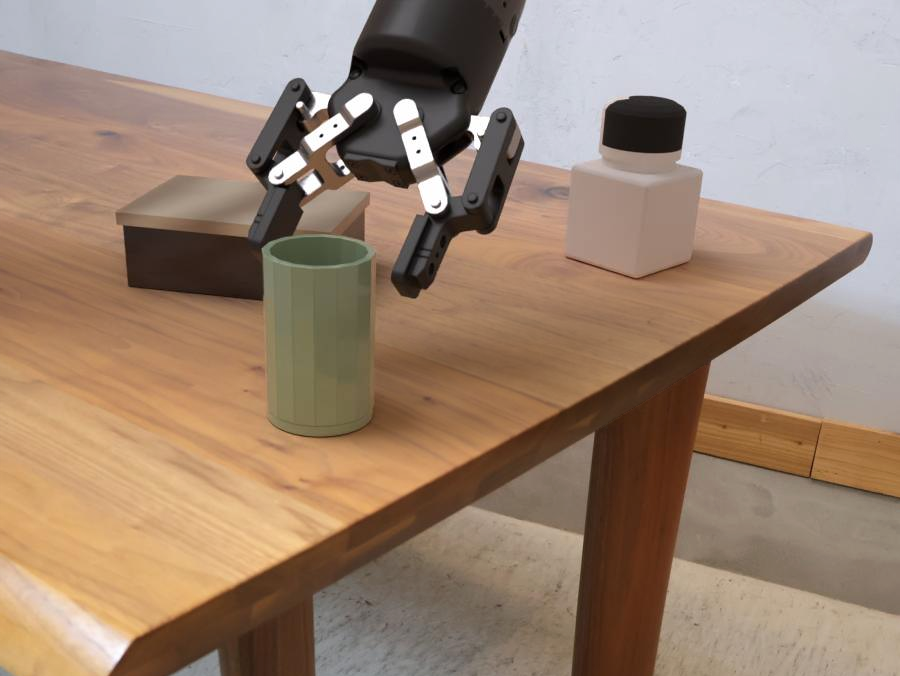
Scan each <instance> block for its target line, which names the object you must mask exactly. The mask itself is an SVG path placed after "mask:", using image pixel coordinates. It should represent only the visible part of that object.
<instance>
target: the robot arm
mask: <svg viewBox="0 0 900 676" xmlns="http://www.w3.org/2000/svg"><path fill="white" fill-rule="evenodd" d="M526 3H527V0H375V2H374V4H373V7H372V9H371V10H370V13H369V15H368V17H367V19H366V21H365V24H364V25H363V28H362V29H361V32H360V34H359V35H358V38H357V41H356V42H355V45H354V47H353V50H352V54H351V59H350V67H349V71H348V75H347V78H346V79H345V81H344V82H343V83H342V84H341V85H340V86H339V87H338V88H337V89H336V90H334V91H333V93H332V94H330V93H325V92H321V91H317V90H312V89H311V88H310V86H309V85H308V84H307V81H306V80H305V79H303V78H302V77H295V78H292V79H291V80H290V81H288V83H286V86H285V87H284V89H283V91H282V93H281V94H280V97H279V99H278V100H277V102H276V104H275V106H274V108H273V109H272V111H271V113H270V115H269V117H268V118H267V121H266V122H265V124H264V125H263V127H262V129H261V131H260V133H259V135H258V136H257V139H256V140H255V142H254V144H253V146H252V148H251V149H250V151H249V153H248V155H247V157H246V159H245V164H246V166H247V168H248V169H249V170H250V171H251V173H252V174H253V175H254V177H255V178H256V179H257V180H258V182H260V183H261V184H262V185H263V187H264V188H265V189H266V190H267V193H266V195H265V197H264V199H263V202H262V204H261V206H260V208H259V210H258V212H257V216H255V218H254V222H253V223H252V225H251V227H250V229H249V232H248V240H249V241H250V250H251V252H252V253H253V254H254V255H255V256H256V257H257V258H258V260H259V261H260V262H261V263H262V248H263V247H264V246H265V245H266V244H267V243H268V242H271V241H274V240H277V239H280V238H283V237H289V236H293V234H294V232H295V230H296V228H297V226H298V223H299V221H300V219H301V217H302V215H303V213H304V211H303V210H302V209H301V207H303V206H304V205H305V204H307V203H308V202H310V201H311V200H312V199H314V198H315V197H317V196H318V195H320V194H321V193H322V192H324V191H325V190H328V189H330V190H337V189H341V188H342V187H343V186H345V185H346V184H347V183H349V182H350V181H351V180H353V179H356V180H357V181H360V182H366V183H379V182H384V183H387V184H388V185H389V186H392V187H394V188H399V189H404V190H409V187H410V185H415V184H417V187H418V191H419V193H420V197H421V200H422V203H423V206H424V210H425V212H424V214H418V213H416V214H415V217H414V219H413V221H412V224H411V226H410V228H409V231H408V233H407V235H406V237H405V239H404V242H403V245H402V247H401V248H400V252H399V254H398V256H397V258H396V261H395V262H394V265H393V267H392V270H391V273H390V282H391V284H392V285H393V287H394V288H395V289H396V291H397V292H398V294H399V295H400V296H401V297H404V298H407V299H408V298H409V299H413V300H415V299H417V298H418V297H419V295H420V293H421V290H424V291H427V290H428V289H429V288H430V287H431V286H432V285H433V283H434V281H435V279H436V277H437V274H438V272H439V270H440V267H441V265H442V263H443V261H444V258H445V256H446V254H447V250H448V248H449V246H450V244H451V242H452V240H453V239H455V238H457V237H458V236H459V234H461V233H465V232H473V231H475V232H476V233H477V234H479V235H482V236H486V235H490V234H491V233H493V232H494V231H495V230H496V228H497V226H498V225H499V224H498V223H499V221H500V218H501V214H502V212H503V209H504V207H505V203H506V200H507V198H508V195H509V192H510V189H511V186H512V183H513V180H514V178H515V174H516V171H517V169H518V165H519V163H520V160H521V157H522V154H523V151H524V148H525V144H526V142H525V140H524V137H523V134H522V132H521V129H520V126H519V123H518V122H517V120H516V118H515V116H514V113H513V111H512V109H510V108H509V107H505V106H504V107H502V106H501V107H499V108H497V109H495V110H493V112H491V114H490V116H486V115H480V113H481V111H482V110H483V107H484V105H485V103H486V100H487V98H488V95H489V93H490V90H491V89H492V86H493V84H494V81H495V80H496V77H497V74H498V72H499V70H500V68H501V66H502V63H503V60H504V58H505V56H506V54H507V51H508V49H509V47H510V45H511V42H512V40H513V38H514V37H515V35H516V34H517V31H518V27H519V23H520V20H521V18H522V15H523V13H524V11H525V10H524V9H525V6H526ZM472 143H473V146H474V148H475V151H476V156H475V159H474V161H473V164H472V166H471V170H470V171H469V176H468V178H467V180H466V183H465V186H464V189H463V192H462V195H456V196H454V193H453V191H452V187H451V184H450V181H449V179H448V175H447V171H446V170H445V169H446V168H445V165H446V164H447V163H448V162H450V161H451V160H453V159H454V158H456V157H457V156H459V154H461V153H462V152H464V151H465V150H466V149H467V148H469V147H470V146H471V145H472ZM334 147H335V149H336V153H337V155H338V157H339V159H338V160H337V161H334V162H330V161H328V160H327V157H326V155H327V153H328V152H329V150H330V149H332V148H334ZM311 170H313V171H311ZM310 171H311V172H310ZM308 172H310V173H309V174H307V173H308ZM306 174H307V175H306ZM304 175H306V176H305V177H303V176H304ZM301 177H303V178H301ZM300 178H301V179H300ZM298 179H300V180H299V181H298Z"/></svg>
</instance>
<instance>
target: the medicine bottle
mask: <svg viewBox="0 0 900 676" xmlns="http://www.w3.org/2000/svg"><path fill="white" fill-rule="evenodd" d="M601 112H602V113H601V123H600V132H599V141H598V153H599V154H600V155H601V157H600V158H597V159H592V160H586V161H582V162H577V163H574V164H573V165H572V166H571V172H570V181H569V182H570V183H569V193H568V203H567V204H568V205H567V216H566V225H565V235H564V236H565V237H564V246H563V247H564V249H563V254H564V256H565V257H567V258H569V259H573V260H577V261H579V262H582V263H584V264H585V263H586V264H589V265H591V266H595V267H598V268H601V269H605V270H607V271H611V272H614V273H617V274H620V275H623V276H627V277H630V278H633V279H640V278H643V277H645V276H648V275H651V274H654V273H658V272H661V271H664V270H667V269H670V268H673V267H677V266H679V265H682V264H685V263H688V262H689V261H691V259H692V253H693V247H694V246H693V245H694V239H695V232H696V225H697V219H698V212H699V211H698V210H699V204H700V198H701V190H702V186H703V185H702V184H703V177H704V172H703V170H702V169H701V168H698V167H693V166H689V165H685V164H680V163H677V162H678V161H680V160H681V158H682V151H683V143H684V137H685V129H686V123H687V122H686V121H687V114H688V111H687V110H686V108H685V107H684V106H683V105H682V104H680V103H679V102H677V101H676V100H674V99H671V98H668V97H663V96H657V95H656V96H655V95H646V94H624V95H617V96H616V97H614V98H611V99H609V100H607V101H606V102H605V103H604V104H603V106H602V111H601Z"/></svg>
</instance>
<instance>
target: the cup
mask: <svg viewBox="0 0 900 676" xmlns="http://www.w3.org/2000/svg"><path fill="white" fill-rule="evenodd" d="M262 281H263V300H262V310H263V313H262V314H263V343H264V345H263V346H264V369H265V370H264V371H265V372H264V373H265V375H264V377H265V378H264V379H265V403H266V416H267V419H268V421H269V422H270V423H271V424H272V425H273V426H274V427H276V428H277V429H280V430H282V431H284V432H287V433H290V434H293V435H298V436H303V437H320V438H321V437H323V438H324V437H335V436H341V435H345V434H349V433H353V432H355V431H358V430H360V429H362V428H363V427H366V425H368V424H369V423H370V421H371V420H372V418H373V415H374V405H375V360H376V359H375V355H376V353H375V351H376V300H377V299H376V295H377V294H376V293H377V291H376V289H377V251H376V249H375V248H374V246H373V245H371V244H370V243H367V242H366V241H365V242H364V241H362V240H358V239H354V238H350V237H345V236H337V235H327V234H306V235H296V236H289V237H283V238H280V239H277V240H274V241H271V242H268V243H267V244H266V245H265V246H264V247H263V248H262Z"/></svg>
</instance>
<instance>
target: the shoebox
mask: <svg viewBox="0 0 900 676" xmlns="http://www.w3.org/2000/svg"><path fill="white" fill-rule="evenodd" d="M266 193H267V190H266V189H265V188H264V187H263V185H262V184H261V183H260V181H251V180H241V179H229V178H220V177H219V178H218V177H207V176H197V175H196V176H195V175H184V174H176V175H174V176H173V177H171V178H169V179H168V180H166V181H165V182H162V183H160V184H159V185H158V186H156V187H155V188H152V189H150V190H149V191H148V192H146V193H143V194H142V195H141V196H139V197H137V198H136V199H134V200H132V201H131V202H129V203H128V204H125V205H124V206H123V207H121V208H119V209H117V210H116V211H115V222H116V225H117V226H122V231H123V232H122V233H123V242H124V244H123V245H124V255H125V265H126V279H127V287H134V288H143V289H154V290H163V291H171V292H173V291H174V292H180V293H181V292H182V293H191V294H200V295H210V296H220V297H230V298H237V299H239V298H240V299H247V300H248V299H249V300H257V301H263V281H262V263H261V262H260V261H259V260H258V258H257V257H256V256H255V255H254V254H253V253H252V252H251V250H250V241H249V240H248V232H249V229H250V227H251V225H252V223H253V222H254V218H255V216H257V212H258V210H259V208H260V206H261V204H262V202H263V199H264V197H265V195H266ZM370 205H371V192H370V191H363V190H350V189H341V188H339V189H337V190H330V189H328V190H325V191H324V192H322V193H321V194H320V195H318V196H317V197H315V198H314V199H312V200H311V201H310V202H308V203H307V204H305V205H304V206H303V207H301V209H302V210H303V211H304V213H303V215H302V217H301V219H300V221H299V223H298V226H297V228H296V230H295V232H294V234H293V236H296V235H306V234H327V235H337V236H345V237H350V238H354V239H358V240H362V241H364V242H366V241H365V237H366V236H365V231H366V230H365V229H366V225H365V224H366V209H367V208H368V207H369V206H370Z"/></svg>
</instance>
